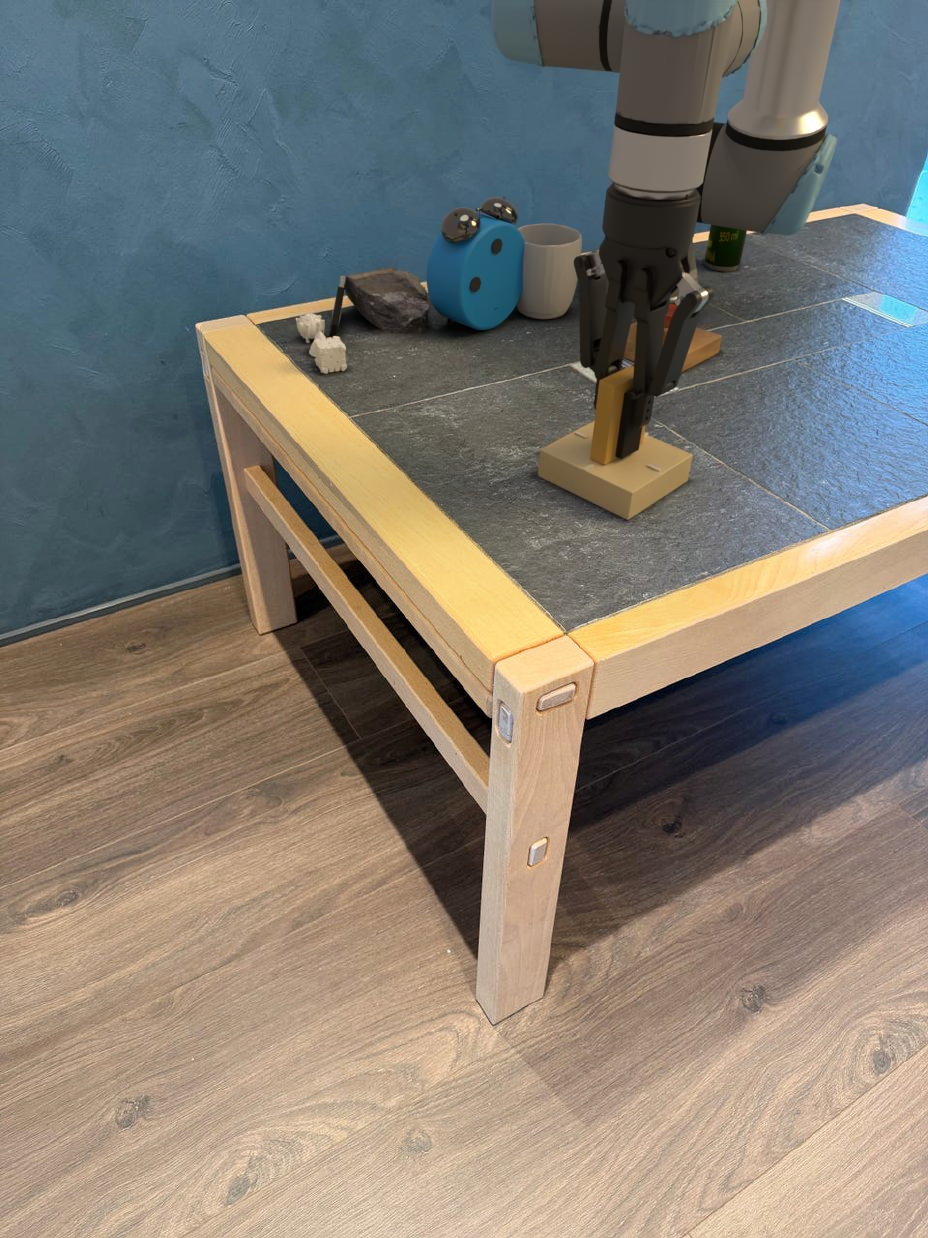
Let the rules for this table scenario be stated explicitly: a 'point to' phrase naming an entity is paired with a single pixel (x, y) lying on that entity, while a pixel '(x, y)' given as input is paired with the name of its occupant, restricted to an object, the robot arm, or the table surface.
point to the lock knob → (610, 415)
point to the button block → (699, 349)
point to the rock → (390, 300)
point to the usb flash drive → (337, 308)
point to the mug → (548, 269)
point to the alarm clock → (477, 265)
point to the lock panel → (615, 472)
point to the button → (669, 315)
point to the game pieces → (322, 344)
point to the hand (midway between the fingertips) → (616, 447)
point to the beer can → (724, 248)
